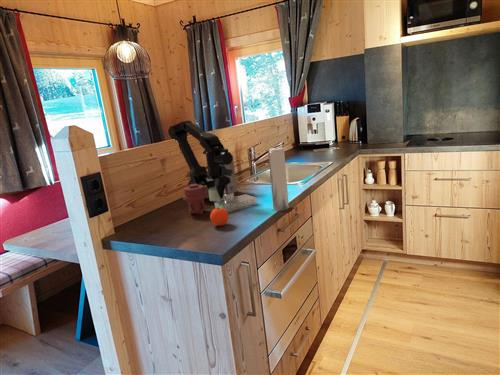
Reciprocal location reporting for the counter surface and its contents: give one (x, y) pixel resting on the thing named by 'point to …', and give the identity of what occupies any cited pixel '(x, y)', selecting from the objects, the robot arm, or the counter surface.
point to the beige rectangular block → (235, 202)
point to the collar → (214, 194)
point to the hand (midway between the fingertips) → (217, 196)
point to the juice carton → (231, 186)
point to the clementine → (219, 216)
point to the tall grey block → (278, 179)
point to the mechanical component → (195, 198)
